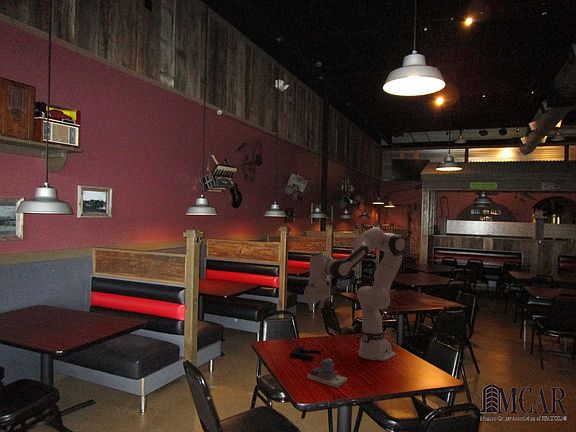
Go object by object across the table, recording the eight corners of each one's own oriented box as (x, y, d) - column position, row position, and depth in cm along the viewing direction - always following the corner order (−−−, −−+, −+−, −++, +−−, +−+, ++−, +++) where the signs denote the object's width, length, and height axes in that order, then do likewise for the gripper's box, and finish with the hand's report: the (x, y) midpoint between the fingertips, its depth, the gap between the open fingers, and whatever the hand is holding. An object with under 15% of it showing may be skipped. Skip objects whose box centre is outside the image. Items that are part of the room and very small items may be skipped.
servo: (320, 376, 193) (320, 358, 193) (323, 374, 195) (324, 356, 195) (330, 379, 189) (331, 360, 189) (334, 377, 192) (334, 359, 192)
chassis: (307, 378, 193) (307, 370, 193) (318, 372, 201) (318, 364, 201) (336, 387, 183) (336, 378, 183) (347, 381, 191) (347, 372, 191)
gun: (324, 352, 239) (300, 348, 244) (324, 347, 239) (300, 343, 244) (313, 362, 217) (287, 358, 222) (314, 357, 217) (287, 353, 222)
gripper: (311, 285, 205) (310, 312, 205) (331, 281, 221) (331, 307, 221) (301, 284, 209) (300, 311, 208) (322, 280, 225) (321, 305, 225)
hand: (316, 309), depth 215 cm, fingers open, 8 cm apart
